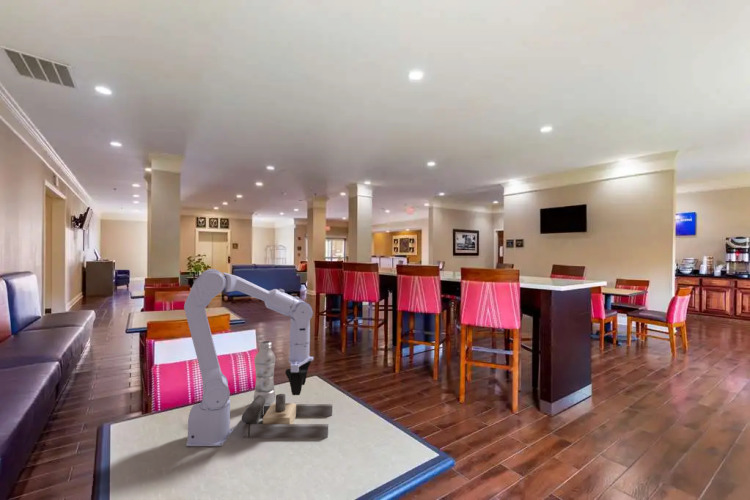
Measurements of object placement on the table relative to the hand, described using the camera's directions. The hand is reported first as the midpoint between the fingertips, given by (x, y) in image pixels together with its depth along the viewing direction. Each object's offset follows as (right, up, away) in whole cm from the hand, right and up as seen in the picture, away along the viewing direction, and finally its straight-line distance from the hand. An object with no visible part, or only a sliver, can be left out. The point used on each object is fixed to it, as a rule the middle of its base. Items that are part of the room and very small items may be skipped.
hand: (298, 389), depth 101 cm
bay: (-1, -9, -4) cm, 10 cm away
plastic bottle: (-14, -10, +11) cm, 20 cm away
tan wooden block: (-4, -8, -4) cm, 10 cm away
